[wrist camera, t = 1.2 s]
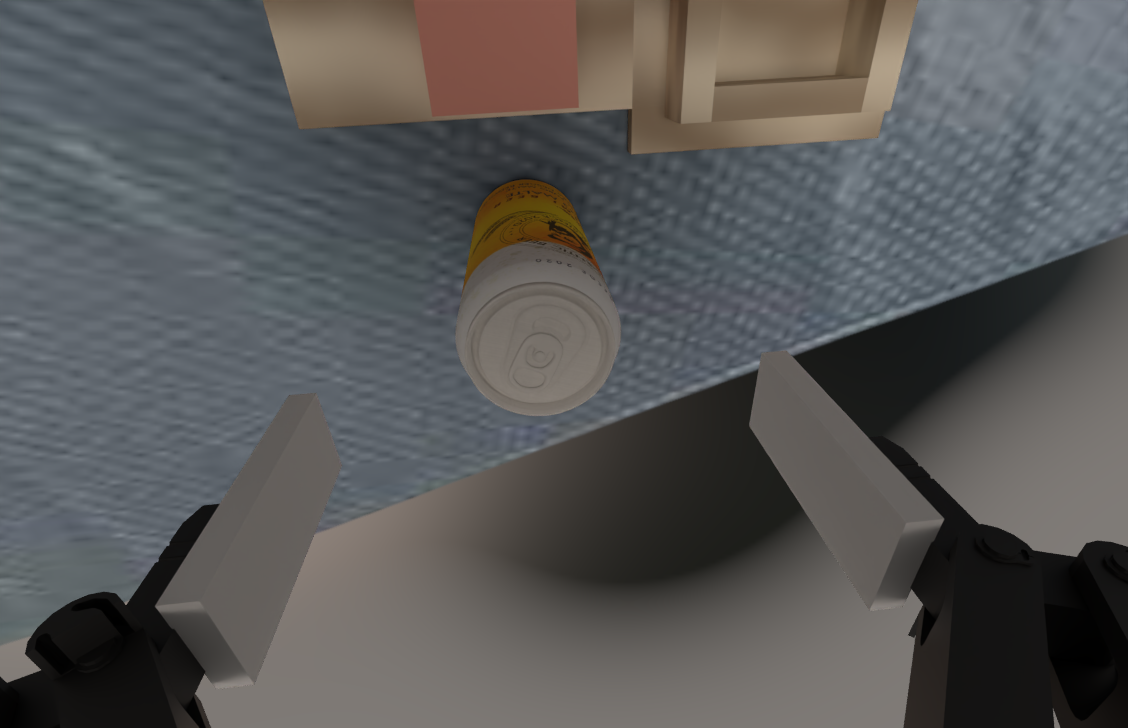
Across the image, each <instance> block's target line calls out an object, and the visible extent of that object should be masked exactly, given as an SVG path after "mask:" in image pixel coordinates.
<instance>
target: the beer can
mask: <svg viewBox="0 0 1128 728" xmlns="http://www.w3.org/2000/svg"><path fill="white" fill-rule="evenodd" d="M455 336H456V347H457V352H458V355H459V358H460V361H461V363H462V365H463V367H464V369H465V370H466V372H467V374H468V375H469V376H470V377H471V379H472V381H473V383H474V384H475V386H476V387H477V388H478V390H479V391H480V392H481V393H482V394H483V395H484V396H485V397H486V398H487V399H489V400H490V401H491V402H493V403H494V404H496V405H498V406H499V407H501V408H503V409H506V410H508V411H511V412H514V413H518V414H522V415H529V416H546V415H553V414H558V413H562V412H565V411H568V410H570V409H573V408H575V407H577V406H579V405H581V404H582V403H584V402H585V401H587V400H588V399H590V398H591V397H592V396H593V395H594V394H595V393H596V392H597V391H598V390H599V389H600V388H601V387H602V385H603V384H604V383H605V381H606V380H607V378H608V376H609V374H610V372H611V369H612V367H613V363H614V361H615V358H616V356H617V353H618V350H619V346H620V339H621V325H620V319H619V315H618V311H617V309H616V306H615V304H614V301H613V299H612V297H611V294H610V292H609V290H608V287H607V285H606V283H605V280H604V278H603V276H602V273H601V271H600V269H599V266H598V264H597V262H596V259H595V257H594V255H593V252H592V250H591V247H590V245H589V243H588V240H587V238H586V236H585V233H584V231H583V229H582V226H581V224H580V222H579V219H578V217H577V215H576V212H575V210H574V208H573V206H572V204H571V203H570V202H569V200H568V199H567V198H566V197H565V196H564V194H562V193H561V192H560V191H559V190H558V189H556V188H555V187H553V186H551V185H549V184H547V183H544V182H541V181H537V180H516V181H512V182H509V183H506V184H504V185H502V186H500V187H498V188H497V189H496V190H494V191H493V192H492V193H491V194H490V195H489V196H488V197H487V198H486V199H485V200H484V202H483V203H482V205H481V207H480V209H479V211H478V213H477V216H476V220H475V225H474V231H473V236H472V242H471V247H470V253H469V258H468V264H467V269H466V275H465V280H464V286H463V291H462V297H461V302H460V308H459V313H458V318H457V324H456V333H455Z"/></svg>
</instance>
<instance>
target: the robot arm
mask: <svg viewBox="0 0 1128 728" xmlns="http://www.w3.org/2000/svg"><path fill="white" fill-rule="evenodd" d="M749 426H750V428H751V429H752V430H753V432H754V434H755V435H756V437H757V438H758V440H759V441H760V443H761V444H762V446H763V448H764V449H765V451H766V452H767V454H768V455H769V457H770V458H771V460H772V461H773V463H774V464H775V466H776V468H777V469H778V470H779V472H780V474H781V475H782V477H783V478H784V480H785V481H786V483H787V484H788V486H789V487H790V489H791V491H792V492H793V494H794V495H795V497H796V498H797V500H798V501H799V503H800V504H801V506H802V508H803V509H804V511H805V512H806V514H807V515H808V517H809V518H810V520H811V521H812V523H813V524H814V526H815V528H816V529H817V531H818V532H819V534H820V535H821V537H822V538H823V540H824V541H825V543H826V544H827V546H828V547H829V549H830V550H831V552H832V554H833V555H834V557H835V558H836V560H837V561H838V563H839V564H840V566H841V568H842V569H843V571H844V572H845V573H846V575H847V577H848V578H849V580H850V581H851V583H852V584H853V586H854V588H855V589H856V590H857V592H858V594H859V595H860V597H861V598H862V600H863V601H864V603H865V604H866V606H867V607H868V609H869V610H870V611H872V610H880V609H888V608H897V607H903V606H904V604H905V602H906V599H907V597H908V595H909V593H910V591H911V589H912V590H913V591H914V593H915V594H916V595H917V597H918V598H919V599H920V601H921V602H922V603H923V606H922V608H921V610H920V612H919V614H918V616H917V618H916V620H915V623H914V624H913V626H912V628H911V630H910V632H909V634H908V635H909V636H911V637H915V635H916V638H915V645H914V652H913V661H912V668H911V675H910V683H909V690H908V699H907V705H906V713H905V721H904V728H1054V717H1053V709H1054V711H1055V714H1056V717H1057V720H1058V722H1059V725H1060V728H1128V547H1126V546H1123V545H1119V544H1116V543H1113V542H1105V541H1094V542H1090V543H1086V545H1085V546H1084V547H1083V549H1082V550H1081V552H1080V553H1079V555H1078V556H1077V557H1073V556H1066V555H1059V554H1053V553H1046V552H1040V551H1034V550H1032V549H1031V548H1030V547H1029V546H1028V545H1027V544H1026V543H1025V542H1023V541H1022V540H1020V539H1019V538H1017V537H1016V536H1015V535H1013V534H1011V533H1009V532H1006V531H1004V530H1002V529H999V528H996V527H992V526H988V525H984V524H978V523H977V522H976V521H975V520H974V519H973V518H972V517H971V516H970V515H969V514H968V513H967V512H966V511H965V510H964V509H963V508H962V507H961V506H960V505H959V504H958V503H957V502H956V501H955V500H954V499H953V498H952V497H951V496H950V495H949V494H948V493H947V492H946V491H945V490H944V489H943V488H942V487H941V486H940V485H939V484H938V483H937V482H936V481H935V480H934V479H931V478H930V475H929V474H928V473H927V472H926V471H925V470H924V469H923V468H922V467H921V466H920V467H919V466H918V463H917V462H916V461H915V460H914V459H913V458H912V457H911V456H910V455H909V454H908V453H907V452H906V451H905V450H904V449H903V448H901V447H900V446H898V445H896V444H895V443H893V442H891V441H890V440H888V439H886V438H885V437H883V436H878V437H867V436H866V435H865V434H864V433H863V432H862V431H861V430H860V428H859V427H858V426H857V425H856V424H855V423H854V422H853V421H852V420H851V419H850V418H849V417H848V416H847V415H846V414H845V412H844V411H843V410H842V409H841V408H840V407H839V406H838V405H837V404H836V403H835V402H834V401H833V400H832V399H831V398H830V397H829V396H828V394H827V393H826V392H825V391H824V390H823V389H822V388H821V387H820V386H819V385H818V384H817V383H816V382H815V381H814V379H813V378H812V377H811V376H810V375H809V374H808V373H807V372H806V371H805V370H804V369H803V368H802V367H801V366H800V365H799V364H798V362H797V361H796V360H795V359H794V358H793V357H792V356H791V355H790V354H789V353H788V352H787V351H777V352H766V353H762V354H761V360H760V366H759V372H758V378H757V384H756V389H755V395H754V401H753V408H752V413H751V419H750V424H749ZM341 466H342V464H341V462H340V459H339V456H338V453H337V450H336V447H335V445H334V442H333V439H332V436H331V433H330V430H329V428H328V425H327V422H326V419H325V416H324V413H323V411H322V408H321V405H320V402H319V399H318V397H317V394H316V393H310V394H298V395H289V396H288V398H287V399H286V401H285V402H284V404H283V405H282V407H281V409H280V410H279V412H278V413H277V415H276V416H275V418H274V420H273V421H272V423H271V424H270V426H269V427H268V429H267V431H266V432H265V434H264V435H263V437H262V438H261V440H260V442H259V443H258V445H257V446H256V448H255V449H254V451H253V453H252V454H251V456H250V457H249V459H248V460H247V462H246V464H245V465H244V467H243V468H242V470H241V471H240V473H239V475H238V476H237V478H236V479H235V481H234V482H233V484H232V486H231V487H230V489H229V490H228V492H227V493H226V495H225V497H224V498H223V500H222V501H221V503H220V504H214V505H204V506H202V507H201V508H200V509H199V510H197V511H196V512H195V513H194V514H193V515H192V516H191V517H189V518H188V519H187V520H186V521H185V522H184V523H183V524H182V525H181V526H180V528H179V529H178V531H177V532H176V534H175V535H174V537H173V538H172V539H171V541H170V542H169V543H170V545H169V546H167V547H166V548H165V550H164V551H163V553H162V554H161V555H160V557H159V561H158V562H156V563H155V564H154V566H153V567H152V569H151V570H150V571H149V573H148V574H147V576H146V577H145V579H144V580H143V582H142V583H141V585H140V586H139V587H138V589H137V590H136V592H135V593H134V595H133V596H132V598H131V599H130V600H129V602H128V603H127V605H125V604H124V602H123V601H122V600H121V599H120V598H119V596H118V595H117V594H115V593H109V592H100V593H95V594H89V595H87V596H84V597H82V598H79V599H77V600H75V601H72V602H70V603H69V604H67V605H66V606H64V607H62V608H61V609H59V610H58V611H56V612H55V613H53V614H52V615H51V616H50V617H49V618H47V619H46V620H45V621H44V622H43V623H42V624H41V625H40V626H39V627H38V628H37V629H36V631H35V632H34V633H33V635H32V636H31V638H30V639H29V641H28V643H27V648H26V652H25V654H26V655H27V656H28V657H29V658H30V659H31V660H32V661H33V662H34V663H35V664H36V665H37V666H38V667H39V668H40V669H41V671H39V672H36V673H33V674H30V675H28V676H25V677H22V678H20V679H17V680H14V681H11V682H8V683H7V682H5V681H4V680H3V679H2V678H1V677H0V728H211V726H210V724H209V721H208V719H207V716H206V714H205V711H204V709H203V706H202V703H201V701H200V700H199V699H198V697H197V696H196V695H195V692H196V690H197V688H198V686H199V684H200V682H201V680H202V678H203V676H204V674H205V675H206V676H207V678H208V679H209V680H210V682H211V683H212V684H213V686H214V687H215V689H221V688H229V687H237V686H246V685H254V684H255V682H256V679H257V677H258V674H259V672H260V669H261V667H262V664H263V662H264V659H265V657H266V654H267V652H268V649H269V647H270V644H271V642H272V639H273V637H274V634H275V632H276V629H277V627H278V624H279V622H280V619H281V617H282V614H283V612H284V609H285V607H286V604H287V602H288V599H289V597H290V594H291V592H292V589H293V586H294V584H295V582H296V579H297V577H298V574H299V572H300V569H301V566H302V564H303V562H304V559H305V557H306V554H307V552H308V549H309V547H310V544H311V541H312V539H313V537H314V534H315V532H316V529H317V527H318V524H319V522H320V519H321V517H322V514H323V512H324V509H325V507H326V504H327V502H328V499H329V497H330V494H331V492H332V489H333V487H334V484H335V482H336V479H337V477H338V474H339V471H340V469H341Z"/></svg>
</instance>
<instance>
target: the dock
mask: <svg viewBox="0 0 1128 728" xmlns="http://www.w3.org/2000/svg"><path fill="white" fill-rule="evenodd" d="M917 3H918V0H576V30H577V64H578V99H579V108H566V109H549V110H533V111H517V112H501V113H484V114H468V115H452V116H436V117H432V112H431V106H430V99H429V93H428V87H427V81H426V75H425V69H424V62H423V56H422V50H421V44H420V38H419V31H418V25H417V19H416V13H415V7H414V1H413V0H263V4H264V7H265V11H266V14H267V18H268V21H269V25H270V28H271V32H272V35H273V39H274V42H275V46H276V49H277V53H278V56H279V60H280V63H281V67H282V70H283V74H284V77H285V81H286V84H287V88H288V91H289V95H290V98H291V102H292V105H293V109H294V112H295V116H296V119H297V123H298V126H299V129H312V128H328V127H344V126H361V125H377V124H393V123H409V122H425V121H441V120H457V119H474V118H490V117H506V116H522V115H538V114H554V113H570V112H587V111H603V110H619V109H628V152H629V153H630V154H645V153H660V152H675V151H690V150H705V149H719V148H734V147H749V146H764V145H779V144H794V143H809V142H824V141H839V140H854V139H869V138H878V136H879V132H880V128H881V124H882V120H883V116H884V111H890V110H891V106H892V102H893V98H894V94H895V90H896V86H897V82H898V78H899V74H900V70H901V66H902V62H903V58H904V54H905V50H906V46H907V42H908V38H909V34H910V30H911V27H912V23H913V19H914V15H915V11H916V7H917Z"/></svg>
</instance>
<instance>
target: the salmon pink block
mask: <svg viewBox="0 0 1128 728" xmlns="http://www.w3.org/2000/svg"><path fill="white" fill-rule="evenodd" d="M413 1H414V7H415V13H416V19H417V25H418V31H419V38H420V44H421V50H422V56H423V62H424V69H425V75H426V81H427V87H428V93H429V99H430V106H431V112H432V117H436V116H452V115H468V114H484V113H501V112H517V111H533V110H549V109H566V108H579V99H578V64H577V30H576V0H413Z"/></svg>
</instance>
